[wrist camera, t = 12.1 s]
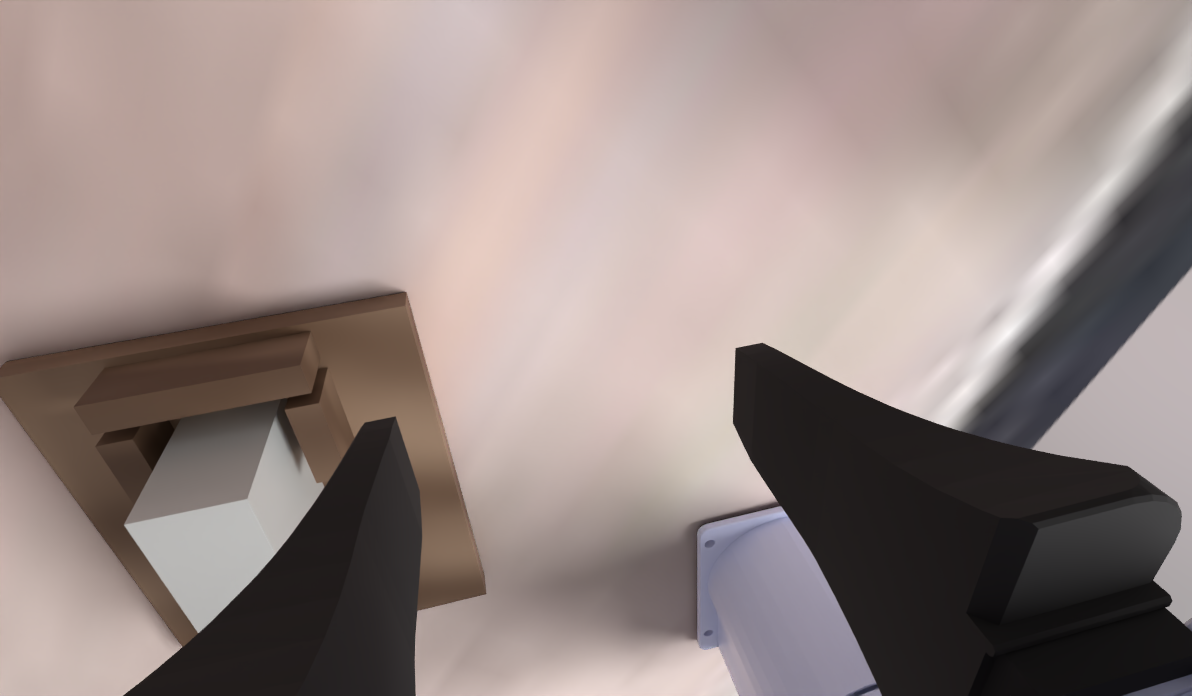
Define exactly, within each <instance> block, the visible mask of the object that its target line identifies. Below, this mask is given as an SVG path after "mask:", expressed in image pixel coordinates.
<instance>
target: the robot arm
mask: <svg viewBox="0 0 1192 696" xmlns="http://www.w3.org/2000/svg"><path fill="white" fill-rule="evenodd" d="M733 424H734V426H735V428H736V430H737V433H738V435H739V437H740V439H741V441H742V443H743V445H744V447H745V449H746V451H747V453H748V455H749V457H750V459H751V461H752V463H753V464H754V466H755V468H756V469H757V471H758V472H759V474H760V475H761V477H762V478H763V480H764V481H765V483H766V484H767V486H768V487H769V489H770V490H771V492H772V493H773V495H774V496H775V498H776V499H777V501H778V502H779V504H780V505H781V506H779V507H775V508H770V509H766V510H762V511H758V512H754V513H750V514H745V515H741V516H737V517H733V518H729V519H724V520H720V521H716V522H712V523H708V524H705V525H703V526H701V527H700V528H699V530H698V532H697V641H698V644H699V646H700V648H701V649H704V650H707V649H711V648H715V647H719V649H720V652H721V654H722V656H723V659H724V661H725V663H726V666H727V668H728V671H729V673H730V675H731V678H732V680H733V682H734V685H735V687H736V689H737V692H738V694H739V696H1192V618H1191V619H1189V620H1188V621H1187V622H1186V623H1185V624H1183V623H1182V622H1181V621H1180V620H1178V619H1177V618H1176V617H1175V616H1174V615H1173V614H1172V613H1171V612H1169V611H1168V610H1167V609H1166V608H1165V607H1168V606H1170V604H1171V602H1172V599H1171V596H1170V595H1169V594H1168V593H1167V592H1166V591H1165V590H1164V589H1162V588H1161V587H1160V586H1159V585H1158V584H1156V583H1155V582H1154V581H1153V579H1154V577H1155V575H1156V574H1157V572H1158V570H1159V568H1160V567H1161V565H1162V563H1163V562H1164V560H1165V558H1166V556H1167V555H1168V553H1169V551H1170V550H1171V548H1172V546H1173V545H1174V543H1175V541H1176V538H1177V536H1178V534H1179V532H1180V529H1181V517H1182V516H1181V510H1180V508H1179V506H1178V503H1177V502H1176V501H1175V500H1173V499H1172V498H1171V497H1169V496H1168V495H1167V494H1165V493H1164V492H1162V491H1161V490H1159V489H1158V488H1157V487H1156V486H1154V485H1153V484H1152V483H1150V482H1149V481H1148V480H1146V479H1145V478H1143V477H1142V476H1141V475H1139V474H1138V473H1137V472H1135V471H1134V470H1132V469H1131V468H1130V467H1128V466H1123V465H1117V464H1111V463H1104V462H1097V461H1091V460H1085V459H1079V458H1072V457H1066V456H1060V455H1055V454H1050V453H1045V452H1040V451H1036V450H1031V449H1027V448H1022V447H1017V446H1013V445H1009V444H1005V443H1001V442H997V441H993V440H989V439H986V438H982V437H979V436H975V435H972V434H968V433H965V432H962V431H958V430H955V429H952V428H949V427H945V426H942V425H939V424H936V423H934V422H931V421H928V420H925V419H923V418H920V417H917V416H914V415H912V414H909V413H906V412H904V411H901V410H899V409H896V408H894V407H891V406H889V405H887V404H884V403H882V402H880V401H878V400H875V399H873V398H871V397H869V396H866V395H864V394H862V393H860V392H858V391H856V390H854V389H851V388H849V387H847V386H845V385H843V384H841V383H839V382H837V381H835V380H833V379H831V378H829V377H827V376H825V375H824V374H822V373H820V372H818V371H816V370H814V369H812V368H810V367H808V366H807V365H805V364H803V363H801V362H799V361H797V360H795V359H793V358H792V357H790V356H788V355H786V354H784V353H782V352H780V351H778V350H776V349H774V348H772V347H770V346H768V345H766V344H764V343H759V344H754V345H749V346H744V347H739V348H736V353H735V381H734V408H733ZM421 549H422V518H421V502H420V490H419V487H418V484H417V481H416V478H415V475H414V471H413V468H412V465H411V462H410V459H409V456H408V453H407V450H406V447H405V444H404V441H403V437H402V434H401V431H400V428H399V425H398V422H397V419H396V416H395V417H390V418H385V419H380V420H375V421H370V422H365V423H364V424H363V425H362V427H361V428H360V430H359V431H358V433H357V435H356V436H355V438H354V440H353V441H352V443H351V445H350V447H349V448H348V450H347V452H346V453H345V455H344V457H343V458H342V460H341V462H340V463H339V465H338V467H337V468H336V470H335V471H334V473H333V475H332V476H331V478H330V479H329V481H328V482H327V484H326V485H325V487H324V488H323V490H322V492H321V493H320V495H319V496H318V498H317V499H316V501H315V502H314V504H313V505H312V506H311V508H310V509H309V511H308V512H307V513H306V515H305V516H304V517H303V519H302V520H301V521H300V523H299V524H298V526H297V527H296V528H295V530H294V531H293V532H292V534H291V535H290V536H289V538H288V539H287V540H286V542H285V543H284V544H283V545H282V547H281V548H280V549H279V550H278V552H277V553H276V554H275V555H274V556H273V558H272V559H271V560H270V561H269V562H268V563H267V564H266V565H265V567H264V568H263V569H262V570H261V571H260V572H259V573H258V575H257V576H256V577H255V578H254V579H253V580H252V581H251V582H250V583H249V584H248V585H247V586H246V587H245V588H244V589H243V590H242V591H241V592H240V593H239V594H238V595H237V596H236V597H235V598H234V599H233V600H232V601H231V602H230V603H229V604H228V605H227V606H226V607H225V608H224V609H223V610H222V611H221V612H220V613H219V614H218V615H217V616H216V617H215V618H214V619H213V620H212V621H211V622H210V623H209V624H208V625H207V626H206V627H205V628H204V629H202V630H201V631H200V632H199V633H198V634H197V635H196V636H195V637H194V638H192V639H191V640H190V641H189V642H188V643H187V644H186V645H185V646H184V647H182V648H181V649H180V650H179V651H178V652H176V653H175V654H174V655H173V656H172V657H171V658H169V659H168V660H167V661H166V662H165V663H164V664H162V665H161V666H160V667H159V668H158V669H156V670H155V671H154V672H153V673H151V674H150V675H149V676H148V677H147V678H145V679H144V680H143V681H142V682H140V683H139V684H138V685H136V686H135V687H134V688H132V689H131V690H130V691H128V692H127V693H126V694H125V695H123V696H416V694H415V661H414V659H415V632H416V618H417V605H418V591H419V578H420V564H421Z"/></svg>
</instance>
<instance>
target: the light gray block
mask: <svg viewBox="0 0 1192 696" xmlns="http://www.w3.org/2000/svg"><path fill="white" fill-rule="evenodd" d="M286 403H287V398H283V399H278V400H273V401H267V402H262V403H257V404H252V405H247V406H241V407H236V408H231V409H226V410H220V411H215V412H210V413H205V414H200V415H194V416H189V417H184V418H181V420H180V421H179V423H178V425H177V427H176V429H175V431H174V433H173V434H172V436H171V438H170V440H169V442H168V444H167V446H166V447H165V449H164V451H163V453H162V455H161V457H160V459H159V460H158V462H157V464H156V466H155V468H154V470H153V472H152V473H151V475H150V477H149V479H148V481H147V483H146V485H145V486H144V488H143V490H142V492H141V494H140V496H139V498H138V499H137V501H136V503H135V505H134V507H133V509H132V511H131V512H130V514H129V516H128V518H127V520H126V522H125V524H124V526H125V527H126V529H127V530H128V532H129V533H130V535H131V536H132V537H133V539H134V540H135V542H136V543H137V545H138V546H139V548H140V549H141V551H142V552H143V553H144V555H145V556H146V558H147V559H148V561H149V562H150V564H151V565H152V567H153V568H154V569H155V571H156V572H157V574H158V575H159V577H160V578H161V580H162V581H163V583H164V584H165V586H166V587H167V588H168V590H169V591H170V593H171V594H172V596H173V597H174V599H175V600H176V602H177V603H178V604H179V606H180V607H181V609H182V610H183V612H184V613H185V615H186V616H187V618H188V619H189V620H190V622H191V623H192V625H193V626H194V628H195V629H196V631H197V632H198V633H199V632H200V631H201V630H202V629H204V628H205V627H206V626H207V625H208V624H209V623H210V622H211V621H212V620H213V619H214V618H215V617H216V616H217V615H218V614H219V613H220V612H221V611H222V610H223V609H224V608H225V607H226V606H227V605H228V604H229V603H230V602H231V601H232V600H233V599H234V598H235V597H236V596H237V595H238V594H239V593H240V592H241V591H242V590H243V589H244V588H245V587H246V586H247V585H248V584H249V583H250V582H251V581H252V580H253V579H254V578H255V577H256V576H257V575H258V573H259V572H260V571H261V570H262V569H263V568H264V567H265V565H266V564H267V563H268V562H269V561H270V560H271V559H272V558H273V556H274V555H275V554H276V553H277V552H278V550H279V549H280V548H281V547H282V545H283V544H284V543H285V542H286V540H287V539H288V538H289V536H290V535H291V534H292V532H293V531H294V530H295V528H296V527H297V526H298V524H299V523H300V521H301V520H302V519H303V517H304V516H305V515H306V513H307V512H308V511H309V509H310V508H311V506H312V505H313V504H314V502H315V501H316V499H317V498H318V496H319V495H320V493H321V492H322V490H323V488H324V485H323V483H322V482H321V483H316V481H315V478H314V476H313V474H312V472H311V469H310V467H309V465H308V462H307V460H306V458H305V456H304V453H303V451H302V449H301V447H300V444H299V442H298V440H297V437H296V435H295V433H294V431H293V428H292V426H291V424H290V421H289V419H288V417H287V415H286V412H285V406H286Z"/></svg>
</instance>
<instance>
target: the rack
mask: <svg viewBox="0 0 1192 696" xmlns="http://www.w3.org/2000/svg"><path fill="white" fill-rule="evenodd" d="M0 397H1V398H2V400H3V401H4V402H5V404H6V405H7V407H8V408H9V409H10V411H11V412H12V413H13V415H14V416H15V418H16V419H17V420H18V422H19V423H20V424H21V426H22V427H23V429H24V430H25V431H26V433H27V434H28V435H29V437H30V438H31V440H32V441H33V442H34V444H35V445H36V446H37V448H38V449H39V450H40V452H41V453H42V455H43V456H44V457H45V459H46V460H47V461H48V463H49V464H50V466H51V467H52V468H53V470H54V471H55V472H56V474H57V475H58V477H59V478H60V479H61V481H62V482H63V483H64V485H65V486H66V487H67V489H68V490H69V492H70V493H71V494H72V496H73V497H74V498H75V500H76V501H77V503H78V504H79V505H80V507H81V508H82V509H83V511H84V512H85V514H86V515H87V516H88V518H89V519H90V520H91V522H92V523H93V524H94V526H95V527H96V529H97V530H98V531H99V533H100V534H101V535H102V537H103V538H104V540H105V541H106V542H107V544H108V545H109V546H110V548H111V549H112V551H113V552H114V553H115V555H116V556H117V557H118V559H119V560H120V562H121V563H122V564H123V566H124V567H125V568H126V570H127V571H128V572H129V574H130V575H131V577H132V578H133V579H134V581H135V582H136V583H137V585H138V586H139V588H140V589H141V590H142V592H143V593H144V594H145V596H146V597H147V599H148V600H149V601H150V603H151V604H152V605H153V607H154V608H155V609H156V611H157V612H158V614H159V615H160V616H161V618H162V619H163V620H164V622H165V623H166V625H167V626H168V627H169V629H170V630H171V631H172V633H173V634H174V636H175V637H176V638H177V640H178V641H179V642H180V644H181V645H182V646H183V647H184V646H185V645H186V644H187V643H188V642H189V641H190V640H191V639H192V638H194V637H195V636H196V635H197V634H198V632H197V631H196V629H195V628H194V626H193V625H192V623H191V622H190V620H189V619H188V618H187V616H186V615H185V613H184V612H183V610H182V609H181V607H180V606H179V604H178V603H177V602H176V600H175V599H174V597H173V596H172V594H171V593H170V591H169V590H168V588H167V587H166V586H165V584H164V583H163V581H162V580H161V578H160V577H159V575H158V574H157V572H156V571H155V569H154V568H153V567H152V565H151V564H150V562H149V561H148V559H147V558H146V556H145V555H144V553H143V552H142V551H141V549H140V548H139V546H138V545H137V543H136V542H135V540H134V539H133V537H132V536H131V535H130V533H129V532H128V530H127V529H126V527H125V526H124V524H125V522H126V520H127V518H128V516H129V514H130V512H131V511H132V509H133V507H134V505H135V503H136V501H137V499H138V498H139V496H140V494H141V492H142V490H143V488H144V486H145V485H146V483H147V481H148V479H149V477H150V475H151V473H152V472H153V470H154V468H155V466H156V464H157V462H158V460H159V459H160V457H161V455H162V453H163V451H164V449H165V447H166V446H167V444H168V442H169V440H170V438H171V436H172V434H173V433H174V431H175V429H176V427H177V425H178V423H179V421H180V420H181V418H184V417H189V416H194V415H200V414H205V413H210V412H215V411H220V410H226V409H231V408H236V407H241V406H247V405H252V404H257V403H262V402H267V401H273V400H278V399H283V398H287V403H286V406H285V412H286V415H287V417H288V419H289V421H290V424H291V426H292V428H293V431H294V433H295V435H296V437H297V440H298V442H299V444H300V447H301V449H302V451H303V453H304V456H305V458H306V460H307V462H308V465H309V467H310V469H311V472H312V474H313V476H314V478H315V481H316V483H321V482H322V483H323V485H324V487H325V485H326V484H327V482H328V481H329V479H330V478H331V476H332V475H333V473H334V471H335V470H336V468H337V467H338V465H339V463H340V462H341V460H342V458H343V457H344V455H345V453H346V452H347V450H348V448H349V447H350V445H351V443H352V441H353V440H354V438H355V436H356V435H357V433H358V431H359V430H360V428H361V427H362V425H363V424H364V423H365V422H370V421H375V420H380V419H385V418H390V417H395V416H396V419H397V422H398V425H399V428H400V431H401V434H402V437H403V441H404V444H405V447H406V450H407V453H408V456H409V459H410V462H411V465H412V468H413V471H414V475H415V478H416V481H417V484H418V487H419V490H420V502H421V518H422V549H421V564H420V578H419V591H418V605H417V611H418V610H422V609H426V608H431V607H435V606H439V605H443V604H447V603H451V602H455V601H459V600H463V599H468V598H472V597H476V596H480V595H484V594H486V587H485V576H484V572H483V568H482V565H481V561H480V558H479V554H478V550H477V547H476V543H475V539H474V536H473V532H472V528H471V525H470V521H469V518H468V514H467V510H466V507H465V503H464V499H463V496H462V492H461V489H460V485H459V481H458V478H457V474H456V470H455V467H454V463H453V460H452V456H451V452H450V449H449V445H448V441H447V438H446V434H445V431H444V427H443V423H442V420H441V416H440V412H439V409H438V405H437V401H436V398H435V394H434V391H433V387H432V383H431V380H430V376H429V372H428V369H427V365H426V362H425V358H424V354H423V351H422V347H421V343H420V340H419V336H418V333H417V329H416V325H415V322H414V318H413V314H412V311H411V307H410V303H409V300H408V296H407V293H406V292H404V293H398V294H393V295H387V296H381V297H375V298H370V299H364V300H358V301H352V302H347V303H341V304H335V305H329V306H324V307H318V308H312V309H306V310H301V311H295V312H289V313H283V314H278V315H272V316H266V317H260V318H255V319H249V320H243V321H237V322H232V323H226V324H220V325H214V326H209V327H203V328H197V329H191V330H186V331H180V332H174V333H168V334H163V335H157V336H151V337H145V338H140V339H134V340H128V341H122V342H117V343H111V344H105V345H99V346H94V347H88V348H82V349H76V350H71V351H65V352H59V353H53V354H48V355H42V356H36V357H30V358H25V359H19V360H13V361H7V362H6V363H5V364H4V365H3V366H2V367H1V368H0Z"/></svg>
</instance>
